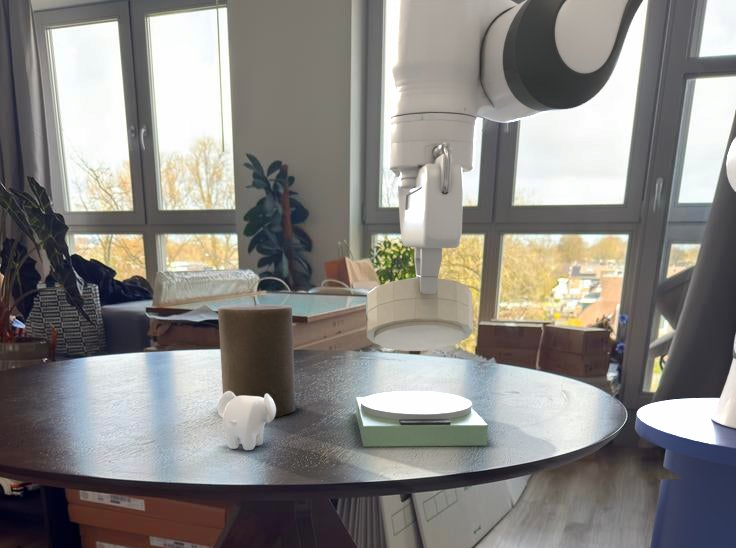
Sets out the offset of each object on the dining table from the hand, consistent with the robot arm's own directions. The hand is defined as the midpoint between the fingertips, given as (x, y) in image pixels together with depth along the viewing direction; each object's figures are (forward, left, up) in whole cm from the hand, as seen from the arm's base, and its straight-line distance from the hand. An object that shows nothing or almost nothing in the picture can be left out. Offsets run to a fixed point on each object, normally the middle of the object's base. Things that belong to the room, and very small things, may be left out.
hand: (426, 292), depth 79 cm
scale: (0, -5, -16) cm, 17 cm away
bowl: (0, -4, -5) cm, 7 cm away
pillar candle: (+20, -16, -17) cm, 30 cm away
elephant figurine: (+20, +2, -17) cm, 26 cm away
